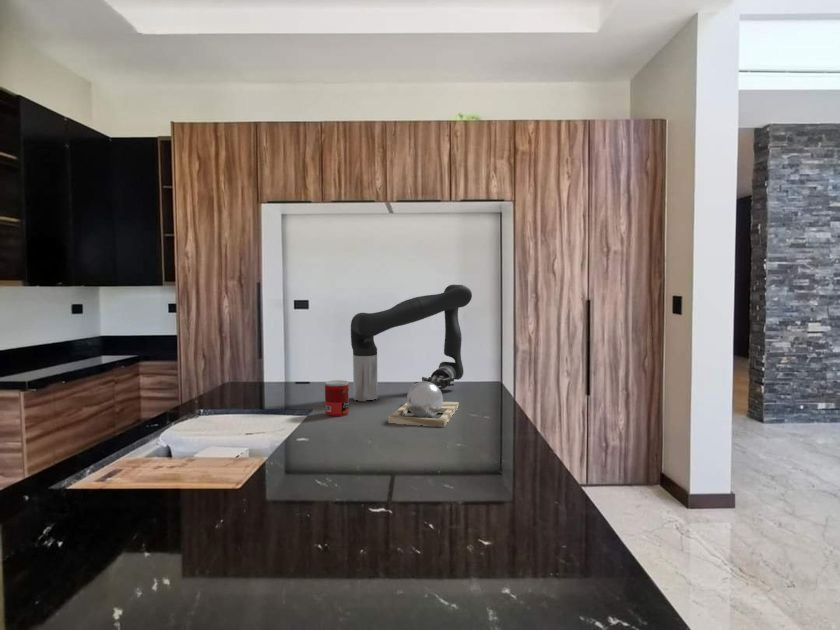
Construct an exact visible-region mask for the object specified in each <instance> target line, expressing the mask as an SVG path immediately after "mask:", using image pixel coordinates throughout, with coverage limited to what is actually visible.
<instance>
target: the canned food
mask: <svg viewBox="0 0 840 630" xmlns="http://www.w3.org/2000/svg"><path fill="white" fill-rule="evenodd" d="M349 384H350V383H349V381H347V380H344V379H343V380H339V379H337V380H336V379H335V380H328V381H325V383H324V397H325V398H324V402H325V403H324V407H325V415H326V416H327V417H331V416H332V418H333V417H334V418H337V417H344V416H347V415H349V412H350V403H349V401H350V397H349V396H350V394H349V393H350V392H349V391H350V388H349V387H350V386H349Z"/></svg>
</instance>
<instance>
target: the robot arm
mask: <svg viewBox="0 0 840 630" xmlns="http://www.w3.org/2000/svg"><path fill="white" fill-rule="evenodd" d="M472 296H473V294H472V290H471V289H470V288H469V287H468V286H467V285H466V286H465V285H463V284H449V285H448V286H446V287H445V289H444V291H443V292H440V293H437V294H436V293H435V294H430V295H429V294H427V295H421V296H416V297H415V296H414V297H413V298H409V299H405V300H403V301H401V302H399V303H397V304H396V305H394V306H392V307H391V308H389V309H385V310H381V311H376V312H370V313H368V312H358V313H356V314H355V315H354V316H353V317H352V319H351V320H350V321H351V322H350V344H351V348H352V368H353V369H352V370H353V371H352V372H353V373H352V375H353V382H352V383H353V385H352V386H353V388H352V389H353V400H354V401H356V400H358V401H357V402H367V401H366V400H373V399H376V398H377V397H378V387H379V385H378V347H377V346H376V345H377V344H376V343H375V340H374V337H375V336H378V335H379V334H381V333H384V332H385V331H388V330H391V329H393V328H396V327H401V326H404V325H409V324H414V323H415V322H419V321H422V320H424V319H428V318H430V317H432V316H436V315H438V314H440V313H442V312H444V327H445V330H444V331H445V332H444V333H445V334H444V344H443V355H445V356H446V357H449V358H452V359H453V360H454V362H453V361H441V362H440V363H439V364H438V368H437V369H436V370H434V371H433V372H432V374H431V375H430V376H429V377H425V376H422V377H421V382H423V381H426V382H431V383H433V384H435V385H436V386H437V387H438V388H439V389H440V390H443V389H445V388H448V387H454V386H455V380H457V381H458V380H461V379H462V378H463V376H464V372H465V371H464V366H463V360H462V353H461V352H462V341H463V339H462V331H461V326H460V323H459V308H464V307H466V306H468V305H469V303H470V302H471V300H472ZM376 400H377V399H376ZM373 401H374V400H373Z"/></svg>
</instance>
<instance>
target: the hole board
mask: <svg viewBox="0 0 840 630" xmlns="http://www.w3.org/2000/svg"><path fill="white" fill-rule="evenodd" d="M459 405H460V403H459V401H446V400H443V404H442V407H441V409H440V411H439V412H438V413H443V414H442V415H441V416H440V417H439V418H435V417H430V418H420V417H417V416H405V415H406V414H408V413H409V412H408V411H410V410H409V408H408V405H407V402H405V403H404V404H403V405H402V406H400V407H399V408H398V409H397V410H396V411H394V412H393V413H392V414H390V415H389V416H388V418H387V419H388V424H389V423H396V424H395V425H404V424H406V425H407V426H408V425H409V426H420V425H423V427H435V426H439V427H438V428H445V427H444V426H446V425H447V424H448V423H447V422H450V420H451V419H452V417H453V416H454V415H455V413H456V412H457V411H456V410H458V409H459V408H458V407H459ZM457 408H458V409H457ZM455 411H456V412H455ZM404 414H405V415H404ZM453 414H454V415H453ZM403 415H404V416H403ZM452 415H453V416H452ZM450 418H451V419H450Z"/></svg>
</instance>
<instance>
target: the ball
mask: <svg viewBox="0 0 840 630" xmlns="http://www.w3.org/2000/svg"><path fill="white" fill-rule="evenodd" d="M443 401H444V396H443V392H442V390H441V389H439V388H438V387H437V386H436V385H435V384H433V383H431V382H426V381H423V382H422V381H419V382H417V383H415V384H413V385H412V386H411V387H410V389H409V390H408V392H407V395H406V403H407V405H408V408H409V410H410V411H411V412H410V413H412V414H413V415H414V417H420V418H433V417H434V416H436V415H437V413H438V412H439V411H440V409H441V407H442V404H443Z"/></svg>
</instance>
